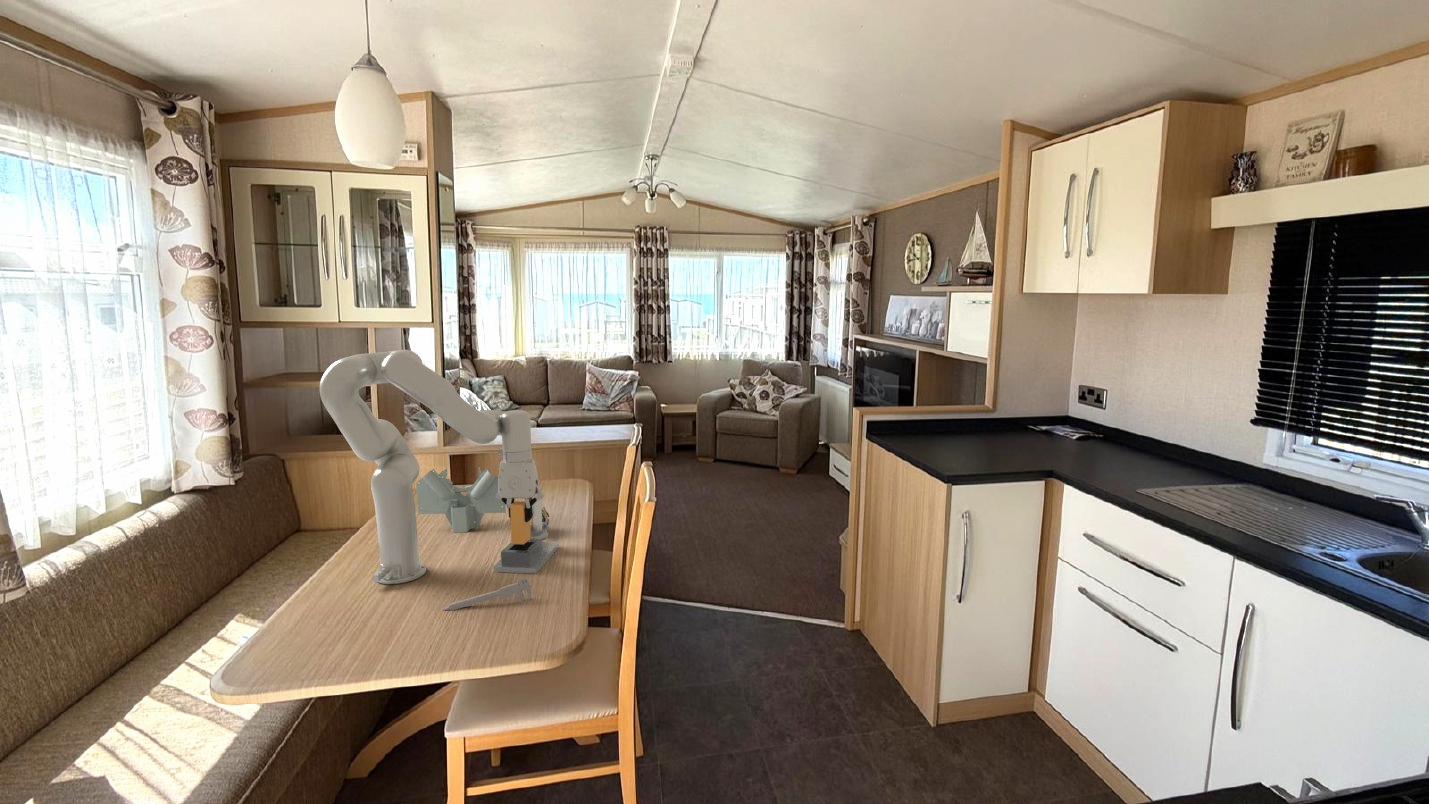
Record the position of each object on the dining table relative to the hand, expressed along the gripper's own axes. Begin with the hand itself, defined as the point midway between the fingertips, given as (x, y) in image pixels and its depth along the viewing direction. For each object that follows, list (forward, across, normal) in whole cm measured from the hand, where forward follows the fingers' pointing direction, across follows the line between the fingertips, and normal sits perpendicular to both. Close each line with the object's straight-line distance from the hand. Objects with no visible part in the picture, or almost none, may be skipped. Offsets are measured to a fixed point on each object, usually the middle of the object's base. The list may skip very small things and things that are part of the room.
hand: (521, 519), depth 185 cm
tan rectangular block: (+6, 0, -1) cm, 6 cm away
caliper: (+14, +1, -24) cm, 28 cm away
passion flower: (+13, -6, +23) cm, 27 cm away
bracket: (+13, -30, +26) cm, 42 cm away
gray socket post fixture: (+13, 0, +4) cm, 14 cm away
